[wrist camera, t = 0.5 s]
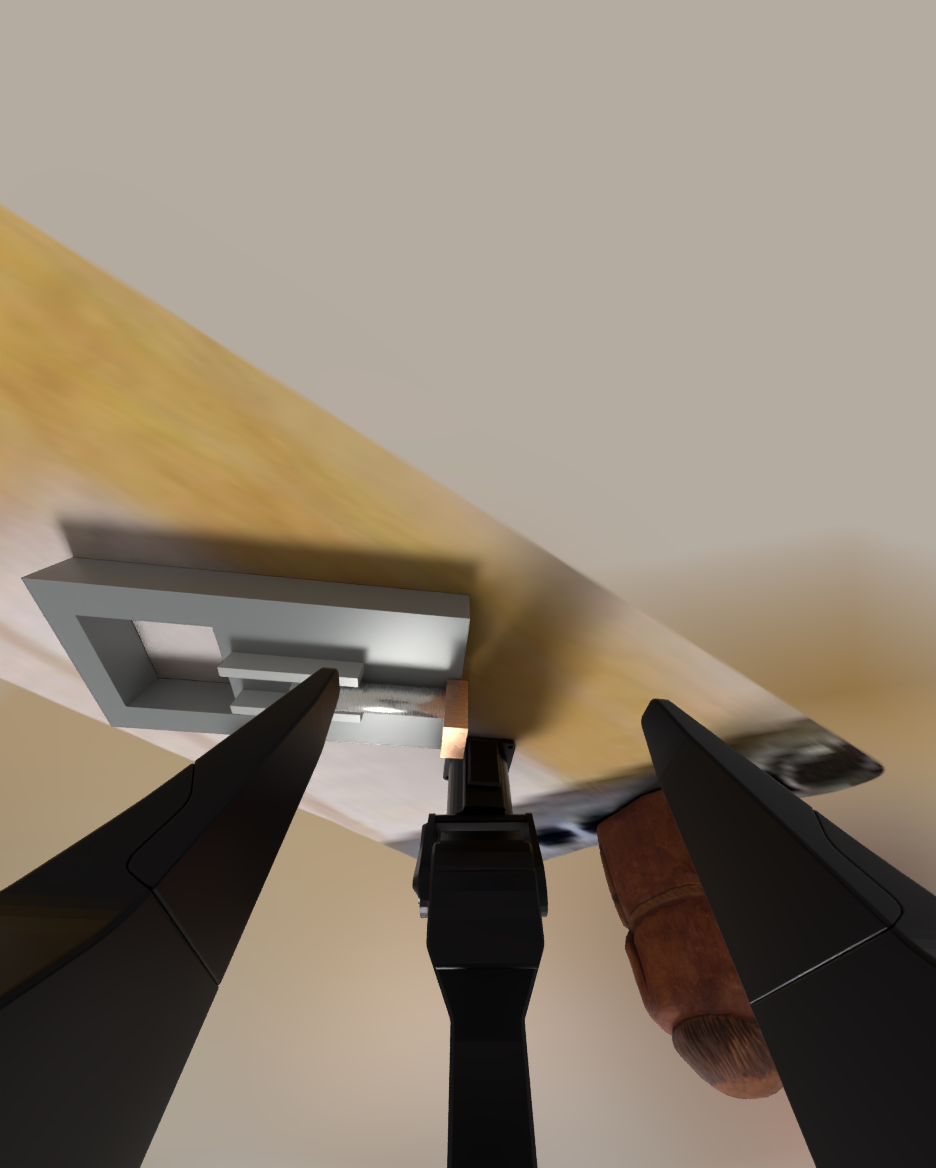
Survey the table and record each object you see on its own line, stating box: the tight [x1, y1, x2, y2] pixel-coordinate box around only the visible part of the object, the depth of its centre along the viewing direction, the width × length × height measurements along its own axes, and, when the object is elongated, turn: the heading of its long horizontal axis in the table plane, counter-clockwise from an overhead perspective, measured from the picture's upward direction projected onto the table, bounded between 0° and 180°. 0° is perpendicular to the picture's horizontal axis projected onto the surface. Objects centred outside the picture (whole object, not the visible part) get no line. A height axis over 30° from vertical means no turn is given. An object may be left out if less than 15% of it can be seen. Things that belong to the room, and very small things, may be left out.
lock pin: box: [289, 679, 468, 759], centre depth 23 cm, size 3×12×4 cm, turn 84°
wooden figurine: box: [597, 790, 783, 1099], centre depth 30 cm, size 12×6×18 cm, turn 147°
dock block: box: [21, 557, 470, 749], centre depth 25 cm, size 14×27×4 cm, turn 84°
